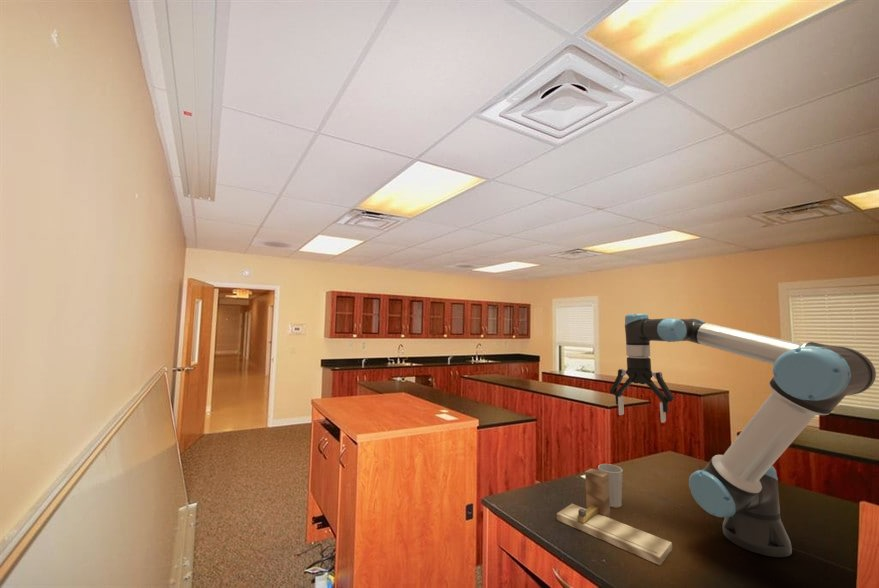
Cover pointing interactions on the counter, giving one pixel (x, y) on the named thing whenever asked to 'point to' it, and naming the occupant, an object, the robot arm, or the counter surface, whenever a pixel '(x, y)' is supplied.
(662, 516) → the counter surface
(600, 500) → the gauge
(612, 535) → the board
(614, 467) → the cup
